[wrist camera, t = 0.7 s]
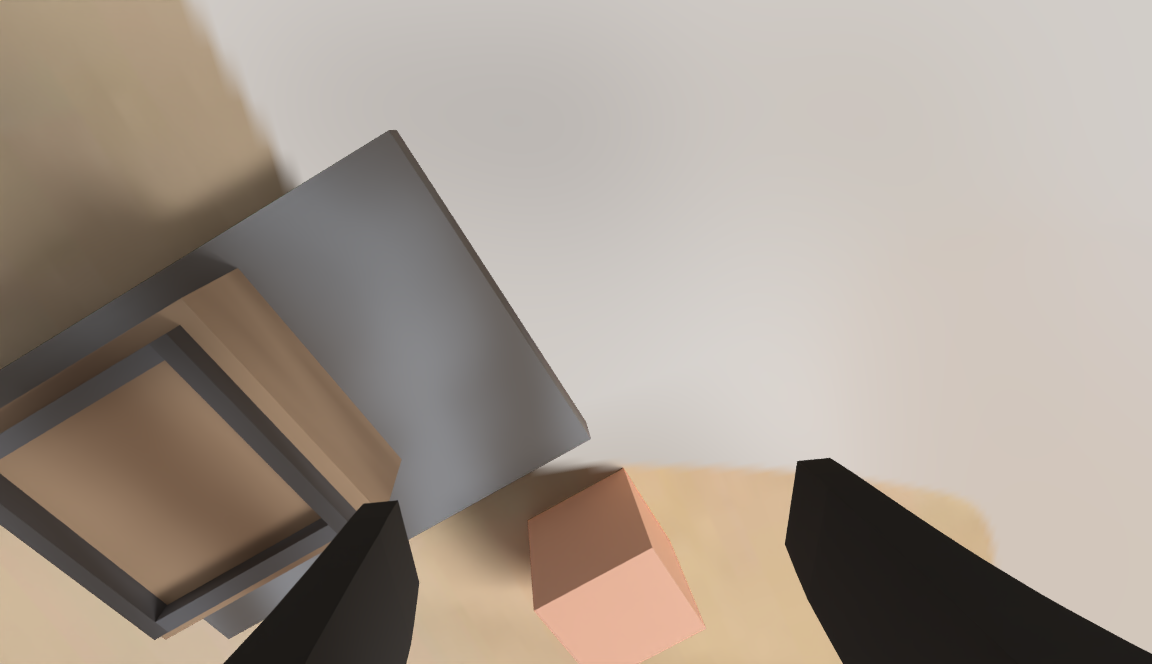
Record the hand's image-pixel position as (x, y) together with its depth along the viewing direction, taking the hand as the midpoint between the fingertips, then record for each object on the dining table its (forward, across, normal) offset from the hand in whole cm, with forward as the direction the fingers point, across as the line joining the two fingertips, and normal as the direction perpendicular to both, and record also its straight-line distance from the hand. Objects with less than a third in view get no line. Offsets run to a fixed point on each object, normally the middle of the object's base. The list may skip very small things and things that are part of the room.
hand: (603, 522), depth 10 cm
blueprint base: (+9, +9, +2) cm, 13 cm away
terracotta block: (+10, -1, +10) cm, 14 cm away
